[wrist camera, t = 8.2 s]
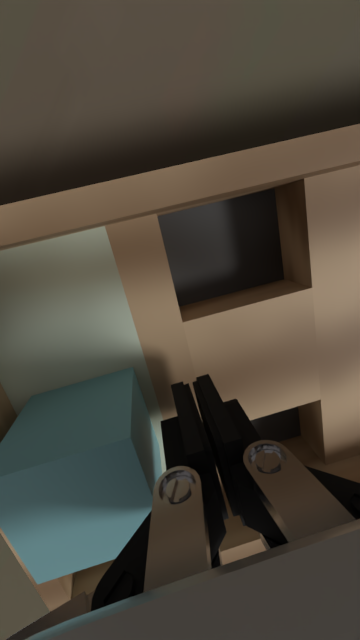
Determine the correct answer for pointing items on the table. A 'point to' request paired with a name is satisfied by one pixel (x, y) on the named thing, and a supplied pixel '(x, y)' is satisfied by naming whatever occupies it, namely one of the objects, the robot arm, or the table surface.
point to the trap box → (197, 300)
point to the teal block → (78, 474)
